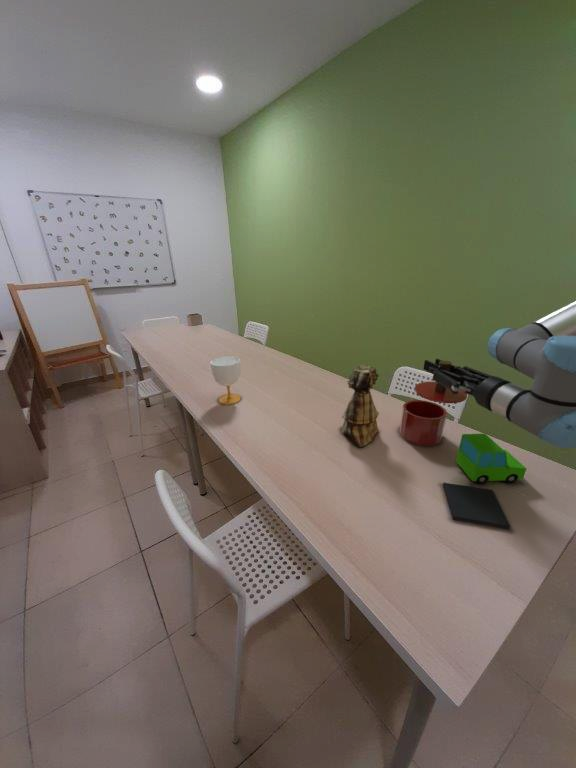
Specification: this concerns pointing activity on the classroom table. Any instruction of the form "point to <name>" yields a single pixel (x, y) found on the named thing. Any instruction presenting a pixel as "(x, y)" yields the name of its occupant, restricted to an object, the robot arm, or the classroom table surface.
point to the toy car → (487, 460)
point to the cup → (226, 376)
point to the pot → (422, 422)
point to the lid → (439, 390)
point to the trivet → (475, 505)
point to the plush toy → (361, 407)
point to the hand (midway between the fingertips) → (430, 363)
